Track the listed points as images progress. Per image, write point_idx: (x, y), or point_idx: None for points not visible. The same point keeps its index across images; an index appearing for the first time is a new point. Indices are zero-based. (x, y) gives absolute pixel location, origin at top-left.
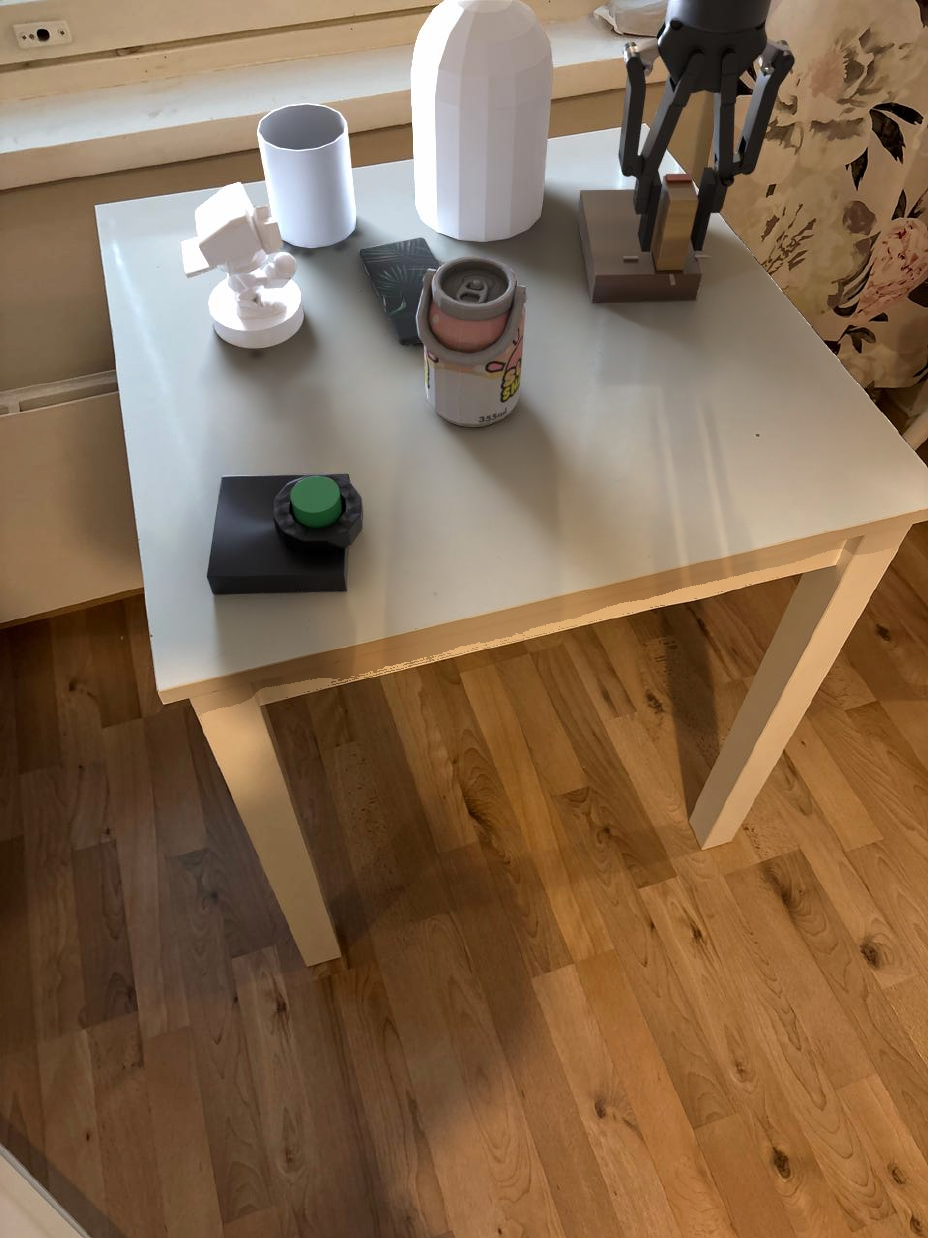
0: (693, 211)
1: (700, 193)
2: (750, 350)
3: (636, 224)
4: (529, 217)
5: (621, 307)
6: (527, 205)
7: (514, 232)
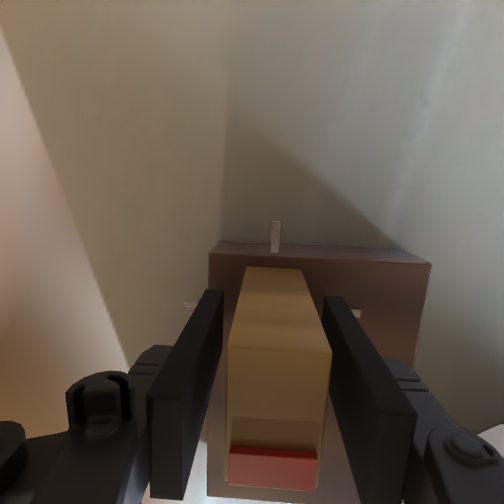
0: (240, 325)
1: (201, 408)
2: (145, 96)
3: None
4: None
5: (352, 233)
6: None
7: (493, 433)
